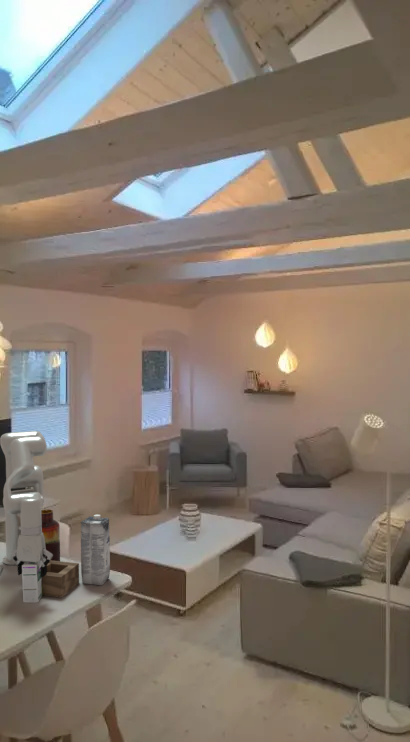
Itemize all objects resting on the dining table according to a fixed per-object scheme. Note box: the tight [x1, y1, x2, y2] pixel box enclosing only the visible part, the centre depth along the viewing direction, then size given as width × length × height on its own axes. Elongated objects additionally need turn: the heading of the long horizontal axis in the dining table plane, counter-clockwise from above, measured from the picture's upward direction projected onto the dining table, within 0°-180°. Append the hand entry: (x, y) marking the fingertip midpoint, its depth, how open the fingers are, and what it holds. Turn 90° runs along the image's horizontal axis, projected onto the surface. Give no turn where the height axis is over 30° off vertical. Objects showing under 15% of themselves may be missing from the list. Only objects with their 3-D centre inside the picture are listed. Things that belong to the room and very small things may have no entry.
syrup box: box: [21, 562, 43, 604], centre depth 209 cm, size 6×6×14 cm
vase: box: [41, 508, 61, 561], centre depth 235 cm, size 11×11×26 cm
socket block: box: [42, 560, 80, 598], centre depth 219 cm, size 14×14×8 cm
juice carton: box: [80, 514, 111, 586], centre depth 225 cm, size 9×10×27 cm
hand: (32, 574), depth 208 cm, fingers open, 9 cm apart
